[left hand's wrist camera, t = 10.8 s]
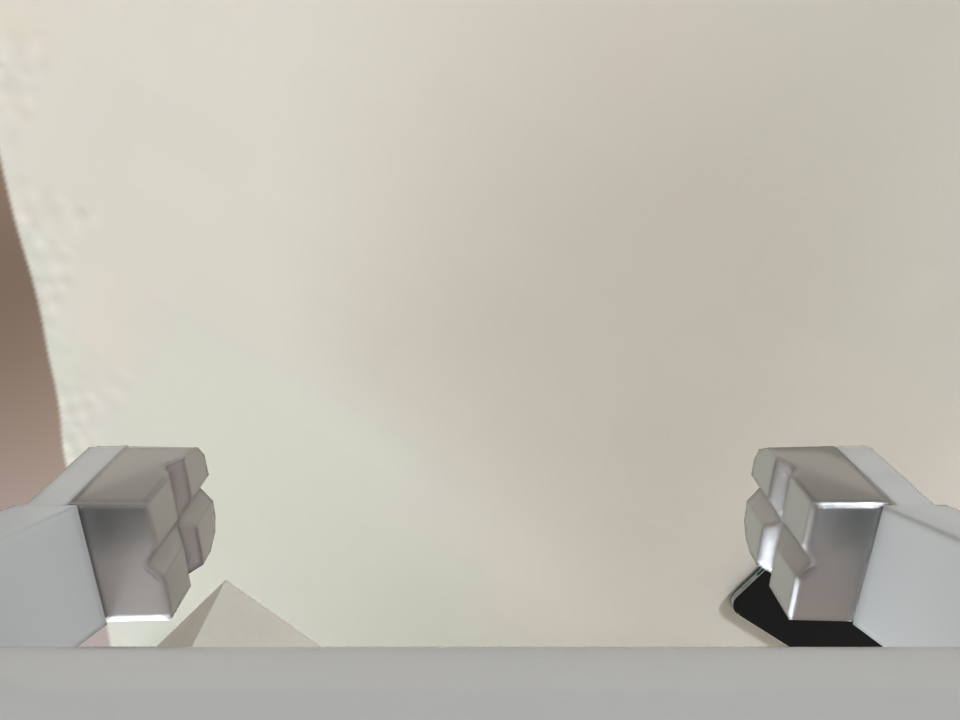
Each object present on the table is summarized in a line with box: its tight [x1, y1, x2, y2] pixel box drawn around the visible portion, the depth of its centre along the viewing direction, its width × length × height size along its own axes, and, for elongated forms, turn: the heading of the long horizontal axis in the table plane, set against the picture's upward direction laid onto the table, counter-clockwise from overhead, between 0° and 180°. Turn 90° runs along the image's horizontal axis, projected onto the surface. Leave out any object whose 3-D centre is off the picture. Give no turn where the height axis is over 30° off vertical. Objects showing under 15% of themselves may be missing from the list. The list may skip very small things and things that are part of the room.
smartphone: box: [731, 567, 883, 647], centre depth 50 cm, size 7×1×15 cm
